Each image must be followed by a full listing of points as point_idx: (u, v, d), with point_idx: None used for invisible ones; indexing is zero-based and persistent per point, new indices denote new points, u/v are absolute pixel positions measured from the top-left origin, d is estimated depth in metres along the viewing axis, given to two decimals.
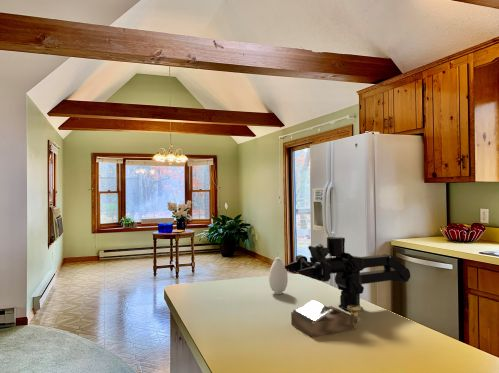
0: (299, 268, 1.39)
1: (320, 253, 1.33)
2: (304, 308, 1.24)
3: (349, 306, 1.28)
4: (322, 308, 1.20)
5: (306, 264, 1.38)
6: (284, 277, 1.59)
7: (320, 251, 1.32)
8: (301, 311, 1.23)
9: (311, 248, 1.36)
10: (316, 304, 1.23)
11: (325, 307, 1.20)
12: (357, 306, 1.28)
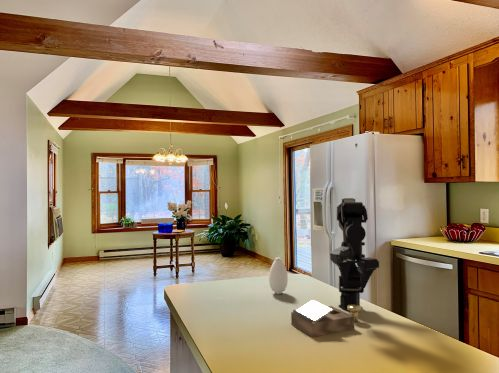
0: (346, 263, 1.33)
1: None
2: (304, 308, 1.24)
3: (349, 306, 1.28)
4: (322, 308, 1.20)
5: None
6: (284, 277, 1.59)
7: None
8: (301, 311, 1.23)
9: None
10: (316, 304, 1.23)
11: (325, 307, 1.20)
12: (357, 306, 1.28)
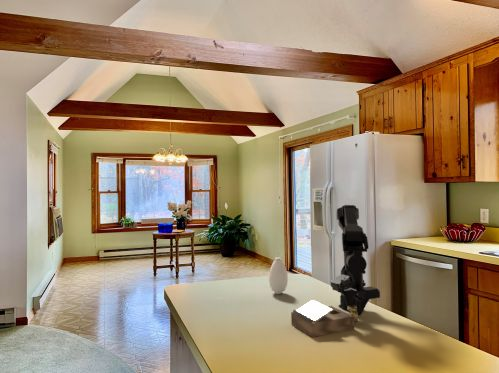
0: (351, 292, 1.31)
1: None
2: (304, 308, 1.24)
3: (349, 306, 1.28)
4: (322, 308, 1.20)
5: None
6: (284, 277, 1.59)
7: None
8: (301, 311, 1.23)
9: None
10: (316, 304, 1.23)
11: (325, 307, 1.20)
12: None
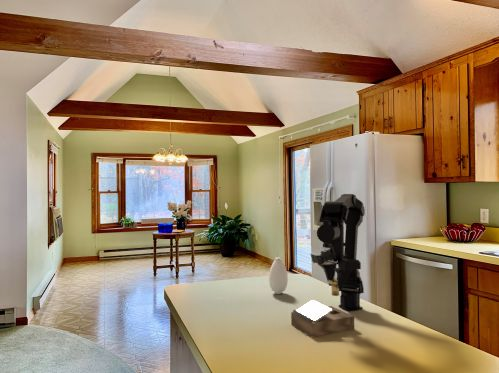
0: (332, 266, 1.27)
1: None
2: (304, 308, 1.24)
3: (330, 280, 1.24)
4: (322, 308, 1.20)
5: None
6: (284, 277, 1.59)
7: None
8: (301, 311, 1.23)
9: None
10: (316, 304, 1.23)
11: (325, 307, 1.20)
12: None
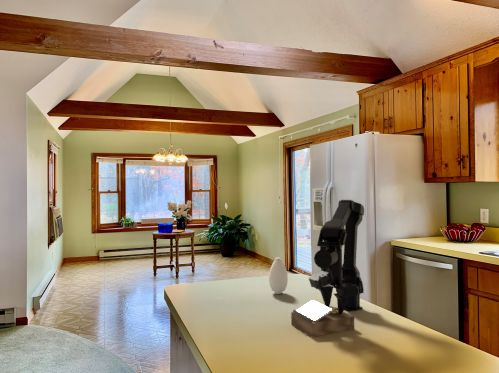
0: (329, 288, 1.28)
1: None
2: (304, 308, 1.24)
3: None
4: (322, 308, 1.20)
5: None
6: (284, 277, 1.59)
7: None
8: (301, 311, 1.23)
9: None
10: (316, 304, 1.23)
11: (325, 307, 1.20)
12: (336, 309, 1.24)
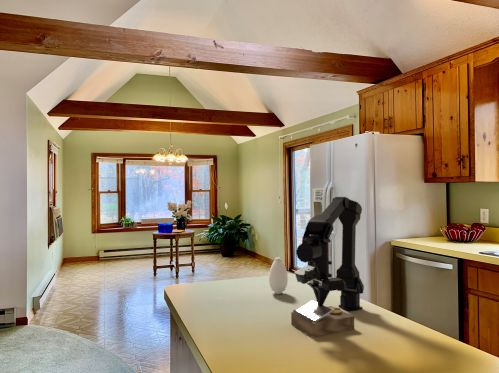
0: None
1: None
2: (304, 308, 1.24)
3: None
4: (322, 309, 1.20)
5: None
6: (284, 277, 1.59)
7: None
8: (301, 311, 1.23)
9: None
10: (316, 304, 1.23)
11: (325, 307, 1.20)
12: (336, 309, 1.24)
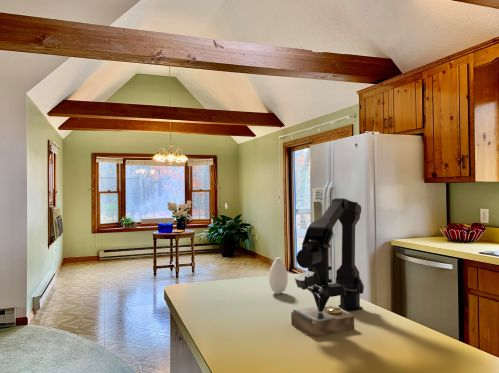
0: None
1: None
2: (305, 310, 1.24)
3: (328, 309, 1.24)
4: (323, 314, 1.20)
5: None
6: (284, 277, 1.59)
7: None
8: (302, 311, 1.23)
9: None
10: (317, 310, 1.24)
11: (327, 314, 1.20)
12: (336, 309, 1.24)
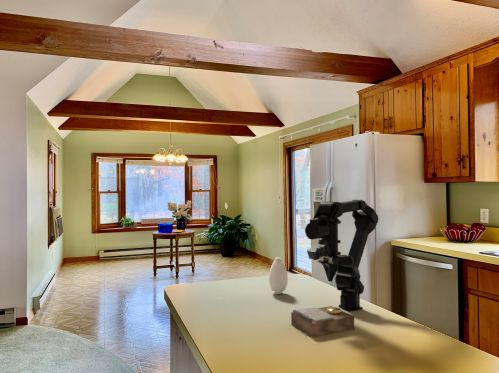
0: None
1: None
2: (305, 310, 1.24)
3: (328, 309, 1.24)
4: (323, 314, 1.20)
5: None
6: (284, 277, 1.59)
7: None
8: (302, 311, 1.23)
9: None
10: (317, 310, 1.24)
11: (327, 314, 1.20)
12: (336, 309, 1.24)
